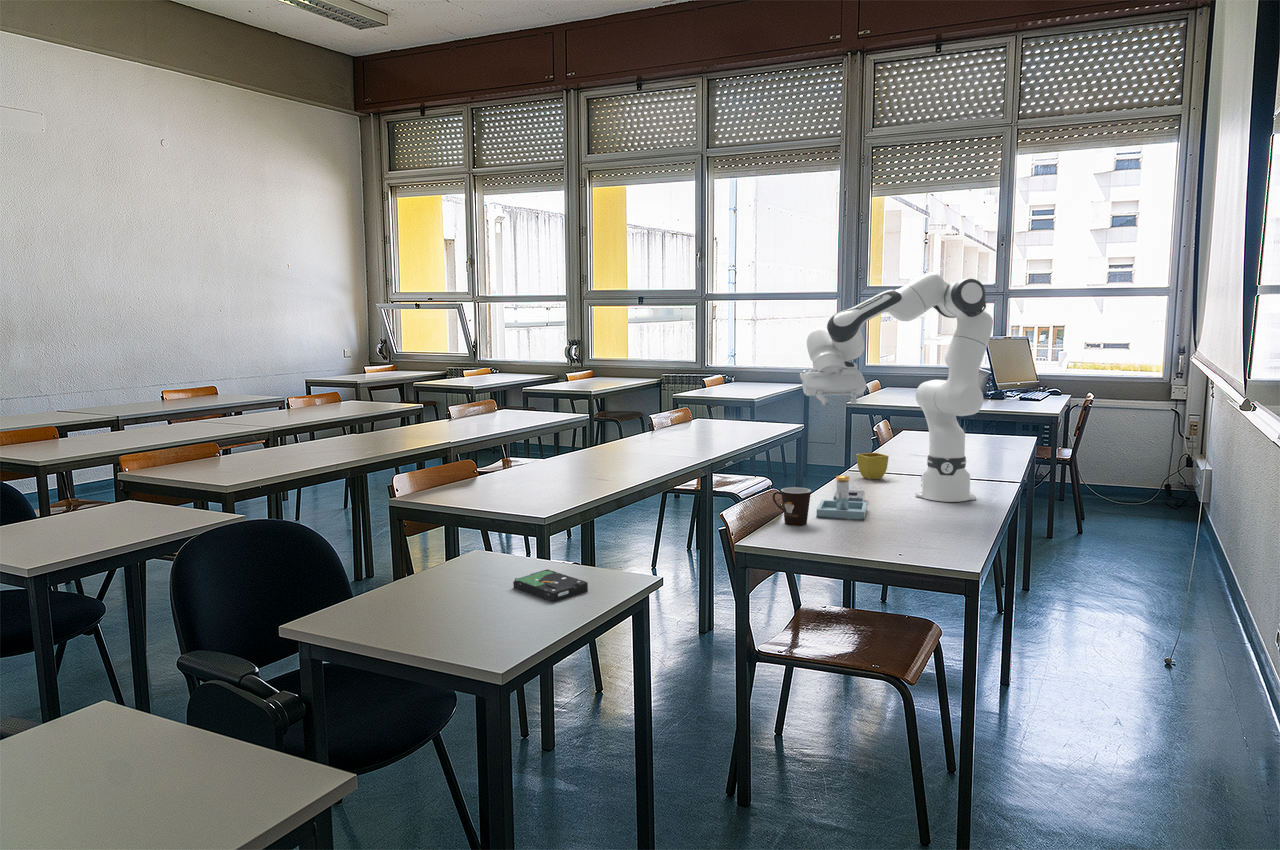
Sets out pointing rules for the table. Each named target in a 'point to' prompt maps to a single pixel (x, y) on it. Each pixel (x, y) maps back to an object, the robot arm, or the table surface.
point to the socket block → (854, 496)
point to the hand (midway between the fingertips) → (840, 403)
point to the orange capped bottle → (842, 492)
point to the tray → (854, 510)
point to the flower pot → (872, 465)
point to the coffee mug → (794, 505)
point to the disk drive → (550, 585)
